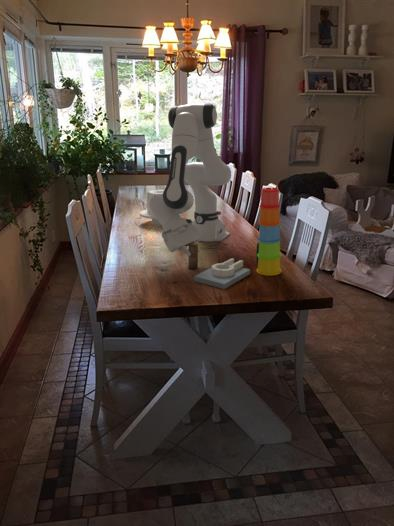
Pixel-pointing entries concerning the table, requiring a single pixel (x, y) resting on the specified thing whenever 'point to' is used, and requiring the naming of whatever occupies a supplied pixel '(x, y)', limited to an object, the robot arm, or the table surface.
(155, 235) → the table surface
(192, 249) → the walnut dowel
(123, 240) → the table surface
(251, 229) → the table surface
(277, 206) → the stacking cups
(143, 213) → the cake on stand
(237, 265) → the keyhole board
